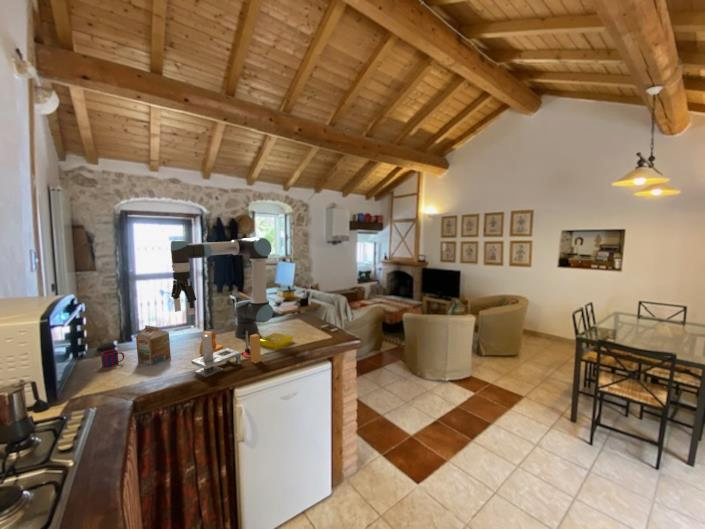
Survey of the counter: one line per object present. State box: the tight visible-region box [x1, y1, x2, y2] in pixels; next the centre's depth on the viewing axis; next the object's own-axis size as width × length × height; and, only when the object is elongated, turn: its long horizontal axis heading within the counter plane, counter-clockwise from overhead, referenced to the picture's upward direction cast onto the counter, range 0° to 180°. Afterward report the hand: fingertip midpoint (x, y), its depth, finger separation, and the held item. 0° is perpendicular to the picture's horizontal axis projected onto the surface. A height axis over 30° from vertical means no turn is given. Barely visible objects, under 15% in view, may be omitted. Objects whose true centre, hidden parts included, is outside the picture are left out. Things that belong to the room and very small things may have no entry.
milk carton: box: [135, 324, 172, 367], centre depth 161 cm, size 11×11×19 cm
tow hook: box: [241, 331, 251, 359], centre depth 167 cm, size 8×13×9 cm
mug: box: [100, 349, 125, 369], centre depth 157 cm, size 7×10×7 cm
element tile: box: [260, 332, 294, 350], centre depth 184 cm, size 15×15×5 cm
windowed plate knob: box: [191, 334, 242, 378], centre depth 150 cm, size 19×12×18 cm, turn 146°
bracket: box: [199, 330, 224, 355], centre depth 172 cm, size 11×7×12 cm, turn 164°
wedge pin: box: [249, 333, 262, 364], centre depth 158 cm, size 4×4×14 cm
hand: (184, 312), depth 153 cm, fingers open, 13 cm apart
